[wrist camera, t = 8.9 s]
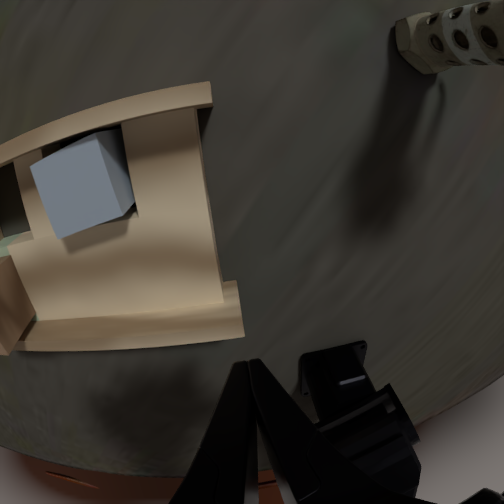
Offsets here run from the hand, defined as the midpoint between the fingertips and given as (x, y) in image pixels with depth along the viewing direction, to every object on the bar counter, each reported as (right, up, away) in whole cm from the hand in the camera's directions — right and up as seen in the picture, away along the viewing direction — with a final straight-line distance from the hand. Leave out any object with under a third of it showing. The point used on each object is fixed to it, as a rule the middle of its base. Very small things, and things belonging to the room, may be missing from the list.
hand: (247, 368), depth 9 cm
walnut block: (-19, +1, +8) cm, 21 cm away
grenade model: (+13, +18, +7) cm, 23 cm away
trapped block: (-10, +9, +8) cm, 15 cm away
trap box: (-12, +5, +9) cm, 16 cm away
